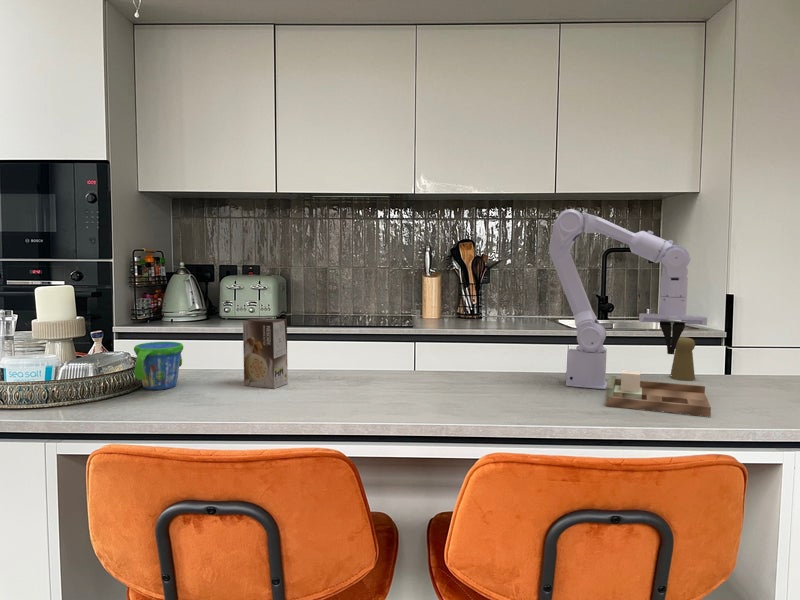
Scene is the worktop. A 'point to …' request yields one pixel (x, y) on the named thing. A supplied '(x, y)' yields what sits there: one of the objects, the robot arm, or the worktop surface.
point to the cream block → (630, 381)
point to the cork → (683, 360)
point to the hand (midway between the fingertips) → (670, 353)
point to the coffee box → (265, 352)
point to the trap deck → (660, 397)
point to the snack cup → (158, 364)
